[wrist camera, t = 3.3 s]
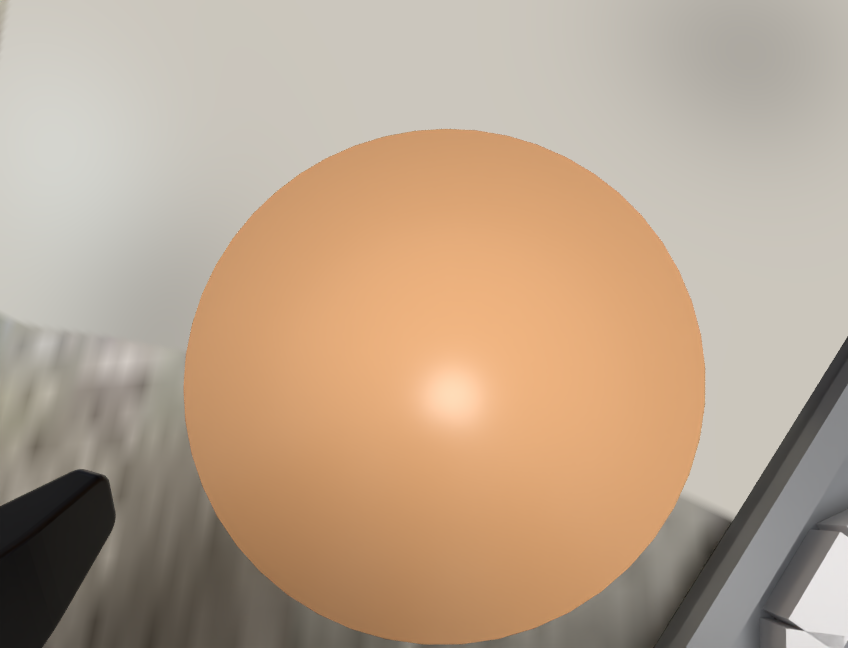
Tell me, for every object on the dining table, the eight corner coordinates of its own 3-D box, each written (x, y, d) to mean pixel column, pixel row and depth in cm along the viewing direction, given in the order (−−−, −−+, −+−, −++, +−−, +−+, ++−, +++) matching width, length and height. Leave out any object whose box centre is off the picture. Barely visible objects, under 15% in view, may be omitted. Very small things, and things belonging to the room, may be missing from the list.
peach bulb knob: (402, 565, 18) (220, 699, 6) (367, 387, 20) (157, 193, 7) (582, 524, 18) (786, 575, 6) (535, 348, 20) (616, 79, 7)
